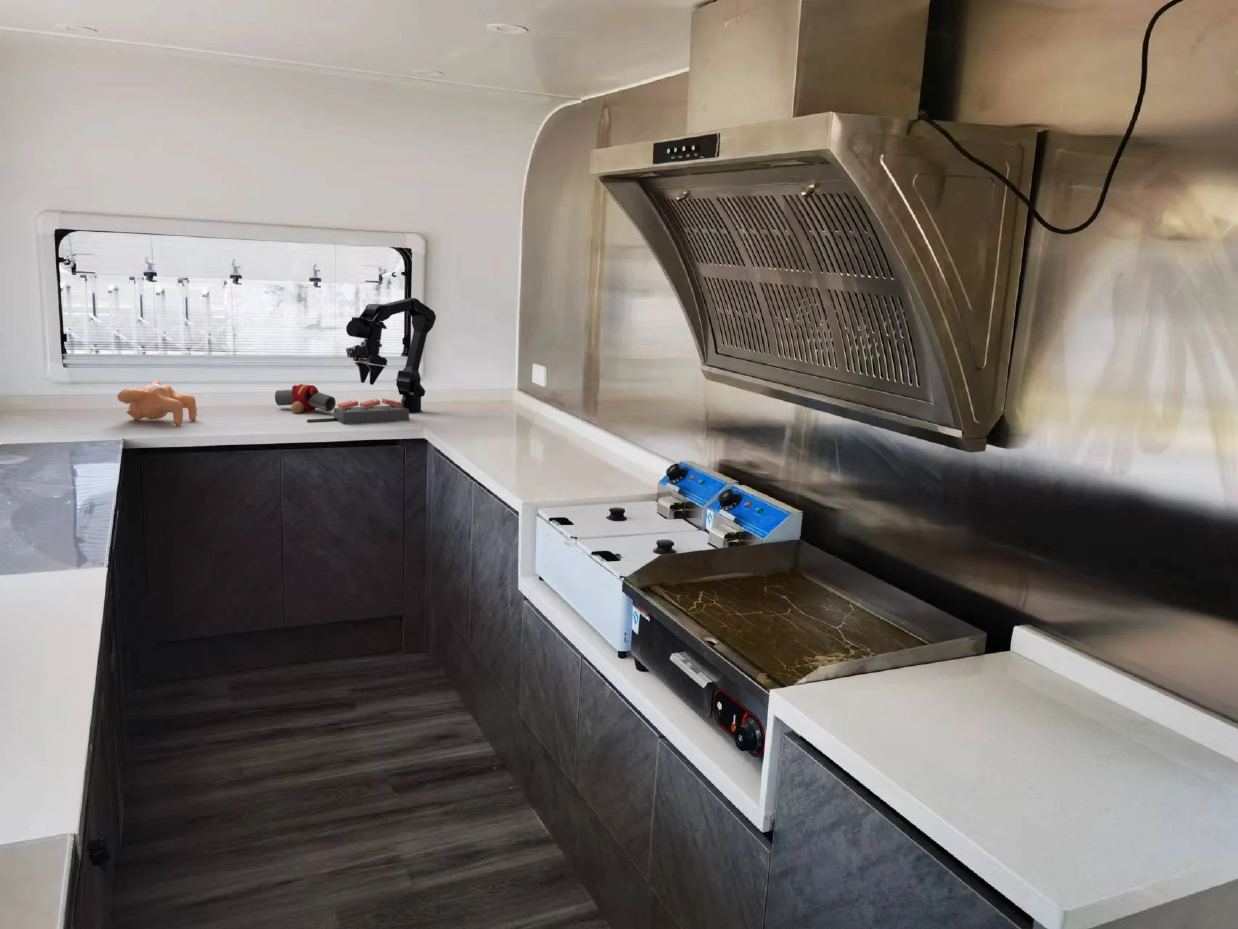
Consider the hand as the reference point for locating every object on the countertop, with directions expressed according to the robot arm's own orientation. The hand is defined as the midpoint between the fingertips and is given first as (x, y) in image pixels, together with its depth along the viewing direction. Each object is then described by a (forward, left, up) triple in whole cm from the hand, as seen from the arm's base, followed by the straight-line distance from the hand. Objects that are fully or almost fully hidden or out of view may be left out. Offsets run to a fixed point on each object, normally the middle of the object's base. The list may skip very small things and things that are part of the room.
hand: (366, 383), depth 343 cm
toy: (+15, -21, -13) cm, 29 cm away
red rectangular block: (-9, +1, -7) cm, 11 cm away
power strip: (+4, +2, -13) cm, 14 cm away
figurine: (+66, -14, -13) cm, 68 cm away
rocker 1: (+7, +1, -7) cm, 10 cm away
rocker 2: (-1, +1, -7) cm, 7 cm away
